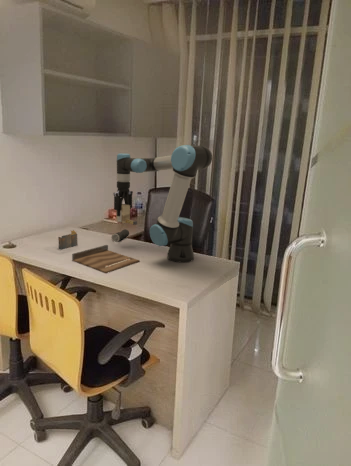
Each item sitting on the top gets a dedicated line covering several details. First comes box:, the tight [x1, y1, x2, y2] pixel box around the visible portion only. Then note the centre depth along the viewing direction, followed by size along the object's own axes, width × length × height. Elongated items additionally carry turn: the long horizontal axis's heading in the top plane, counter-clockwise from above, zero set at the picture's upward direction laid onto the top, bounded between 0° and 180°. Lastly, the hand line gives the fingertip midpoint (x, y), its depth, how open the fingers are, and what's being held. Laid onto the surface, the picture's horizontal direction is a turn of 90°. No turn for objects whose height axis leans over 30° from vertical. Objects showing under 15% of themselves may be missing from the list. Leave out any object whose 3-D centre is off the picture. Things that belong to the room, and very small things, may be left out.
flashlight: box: [111, 228, 130, 243], centre depth 236 cm, size 15×5×5 cm, turn 161°
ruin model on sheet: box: [57, 230, 78, 250], centre depth 214 cm, size 11×3×10 cm, turn 143°
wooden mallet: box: [115, 203, 138, 226], centre depth 211 cm, size 13×5×10 cm, turn 53°
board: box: [71, 244, 141, 274], centre depth 194 cm, size 26×24×4 cm
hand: (123, 220), depth 214 cm, fingers closed on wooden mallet, 5 cm apart
